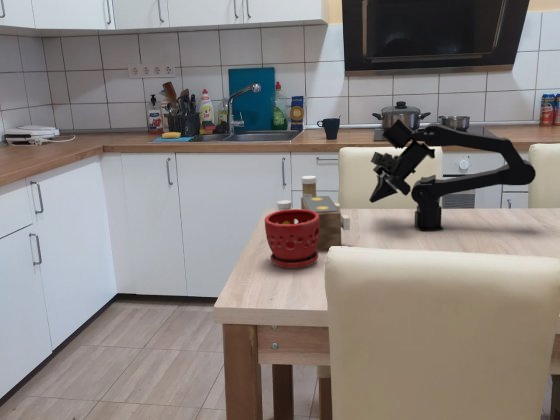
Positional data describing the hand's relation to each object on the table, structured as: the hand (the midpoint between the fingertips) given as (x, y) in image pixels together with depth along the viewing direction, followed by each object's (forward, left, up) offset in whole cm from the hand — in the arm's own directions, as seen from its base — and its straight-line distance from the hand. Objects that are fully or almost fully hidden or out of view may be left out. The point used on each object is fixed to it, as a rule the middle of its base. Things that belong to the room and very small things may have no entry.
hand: (370, 201), depth 152 cm
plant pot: (+24, +22, -9) cm, 34 cm away
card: (+15, +6, +2) cm, 17 cm away
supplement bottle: (+24, -1, -9) cm, 26 cm away
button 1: (+14, 0, -3) cm, 14 cm away
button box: (+15, +6, -8) cm, 19 cm away
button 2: (+14, +13, -3) cm, 19 cm away
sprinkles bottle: (+15, -16, -9) cm, 24 cm away
